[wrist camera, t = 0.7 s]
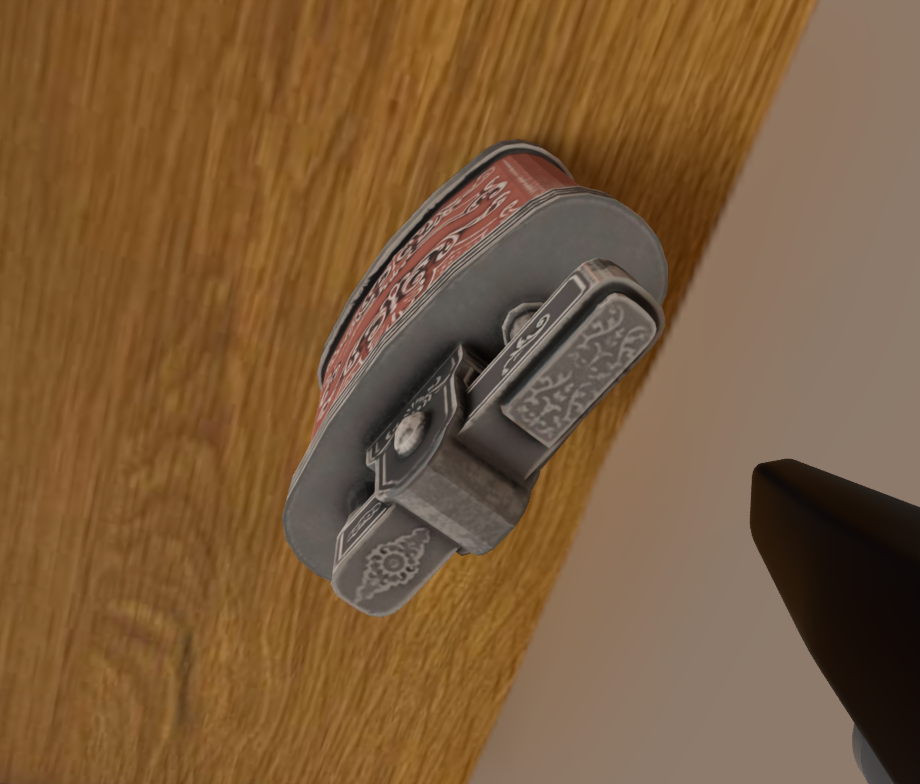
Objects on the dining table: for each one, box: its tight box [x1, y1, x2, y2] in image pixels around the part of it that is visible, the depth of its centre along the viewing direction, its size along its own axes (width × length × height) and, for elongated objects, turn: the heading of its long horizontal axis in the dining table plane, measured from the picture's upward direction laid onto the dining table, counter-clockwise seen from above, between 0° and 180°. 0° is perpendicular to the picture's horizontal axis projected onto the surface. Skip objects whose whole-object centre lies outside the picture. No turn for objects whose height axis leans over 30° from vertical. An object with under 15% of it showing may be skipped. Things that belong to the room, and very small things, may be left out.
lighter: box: [282, 139, 668, 617], centre depth 15 cm, size 8×3×10 cm, turn 140°
